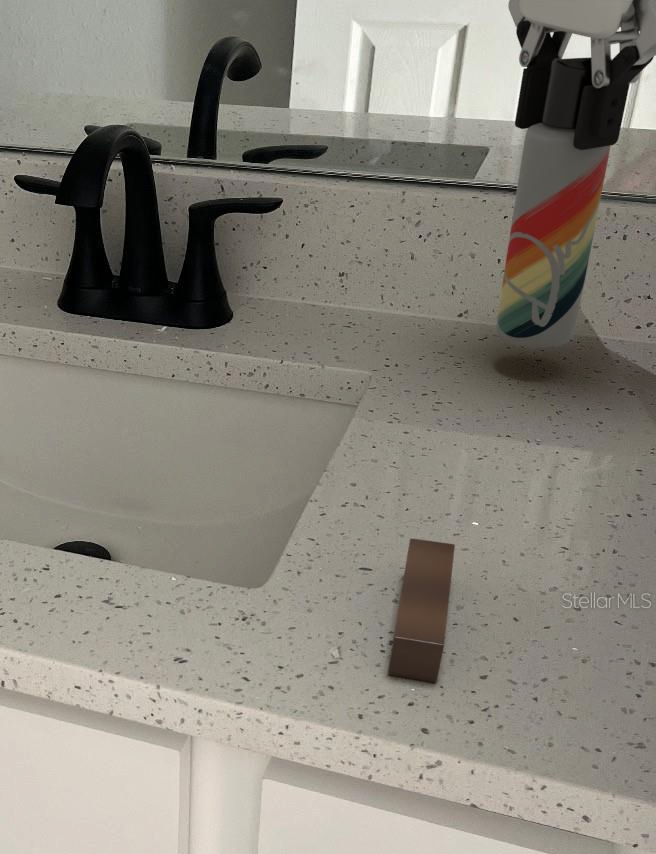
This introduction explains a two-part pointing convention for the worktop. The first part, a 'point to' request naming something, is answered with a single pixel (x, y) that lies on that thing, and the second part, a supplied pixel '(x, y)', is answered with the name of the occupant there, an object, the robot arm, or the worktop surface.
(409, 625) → the walnut stick
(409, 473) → the worktop surface
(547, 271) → the lotion bottle
